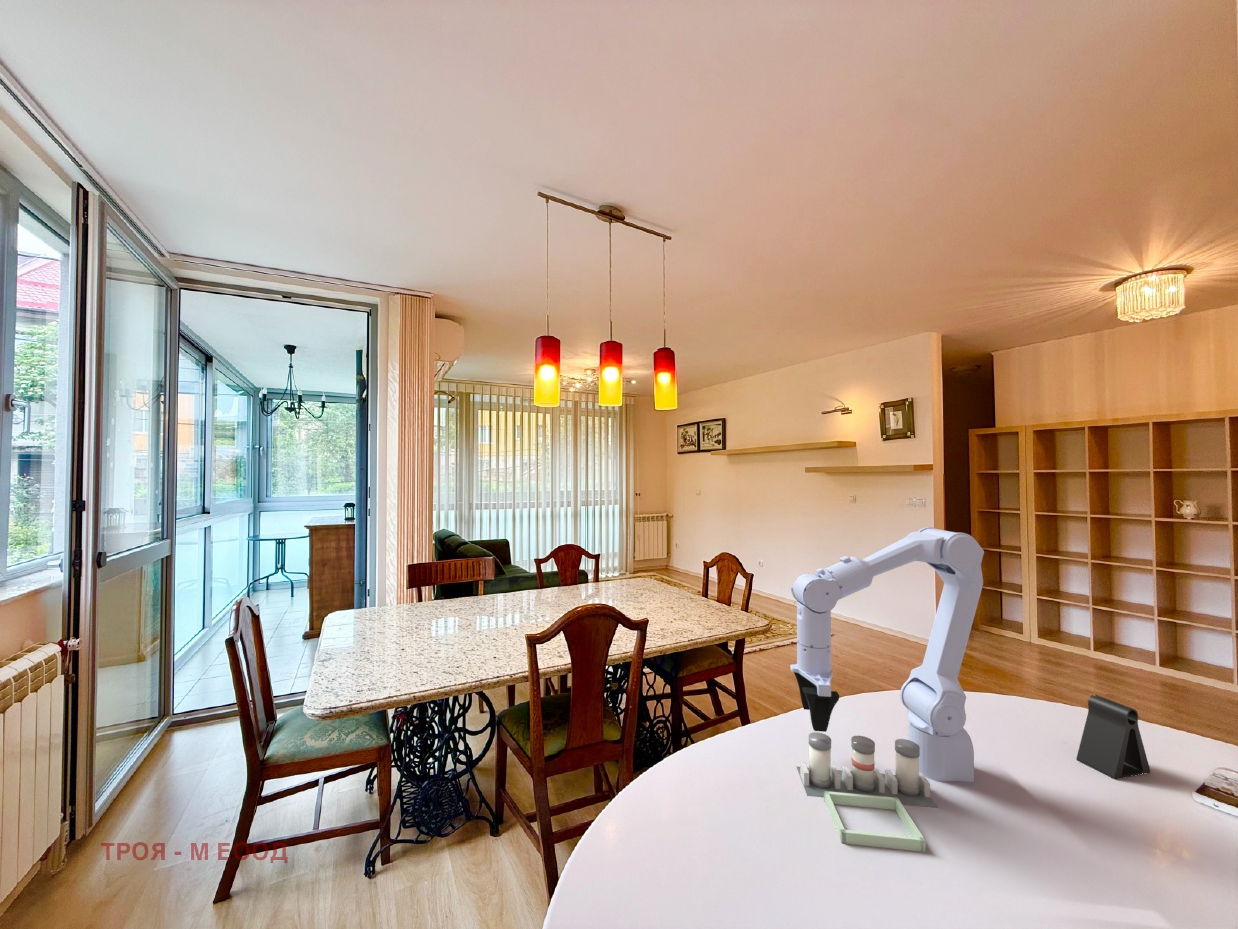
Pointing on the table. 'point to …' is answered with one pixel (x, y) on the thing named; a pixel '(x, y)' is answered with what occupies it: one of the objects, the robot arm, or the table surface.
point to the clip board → (883, 787)
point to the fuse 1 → (820, 760)
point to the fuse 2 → (907, 767)
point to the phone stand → (1112, 740)
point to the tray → (870, 838)
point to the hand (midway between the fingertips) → (814, 719)
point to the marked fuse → (863, 763)
